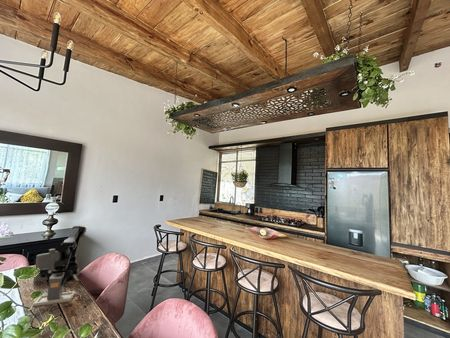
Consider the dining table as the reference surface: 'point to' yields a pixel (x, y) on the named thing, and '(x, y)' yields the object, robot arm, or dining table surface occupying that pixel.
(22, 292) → the dining table surface
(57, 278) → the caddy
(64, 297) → the tray
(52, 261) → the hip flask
